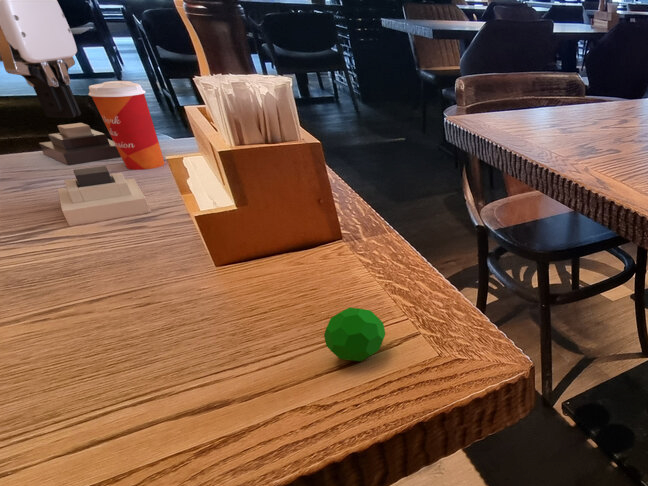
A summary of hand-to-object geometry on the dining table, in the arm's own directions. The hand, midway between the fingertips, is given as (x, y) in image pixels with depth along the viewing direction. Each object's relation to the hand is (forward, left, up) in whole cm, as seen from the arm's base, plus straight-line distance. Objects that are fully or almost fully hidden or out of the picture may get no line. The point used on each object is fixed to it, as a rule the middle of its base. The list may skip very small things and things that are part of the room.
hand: (64, 116), depth 72 cm
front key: (0, 0, -10) cm, 10 cm away
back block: (-20, +31, -13) cm, 39 cm away
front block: (0, 0, -13) cm, 13 cm away
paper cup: (-6, +23, -13) cm, 27 cm away
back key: (-20, +31, -10) cm, 38 cm away
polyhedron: (+44, -44, -13) cm, 64 cm away
